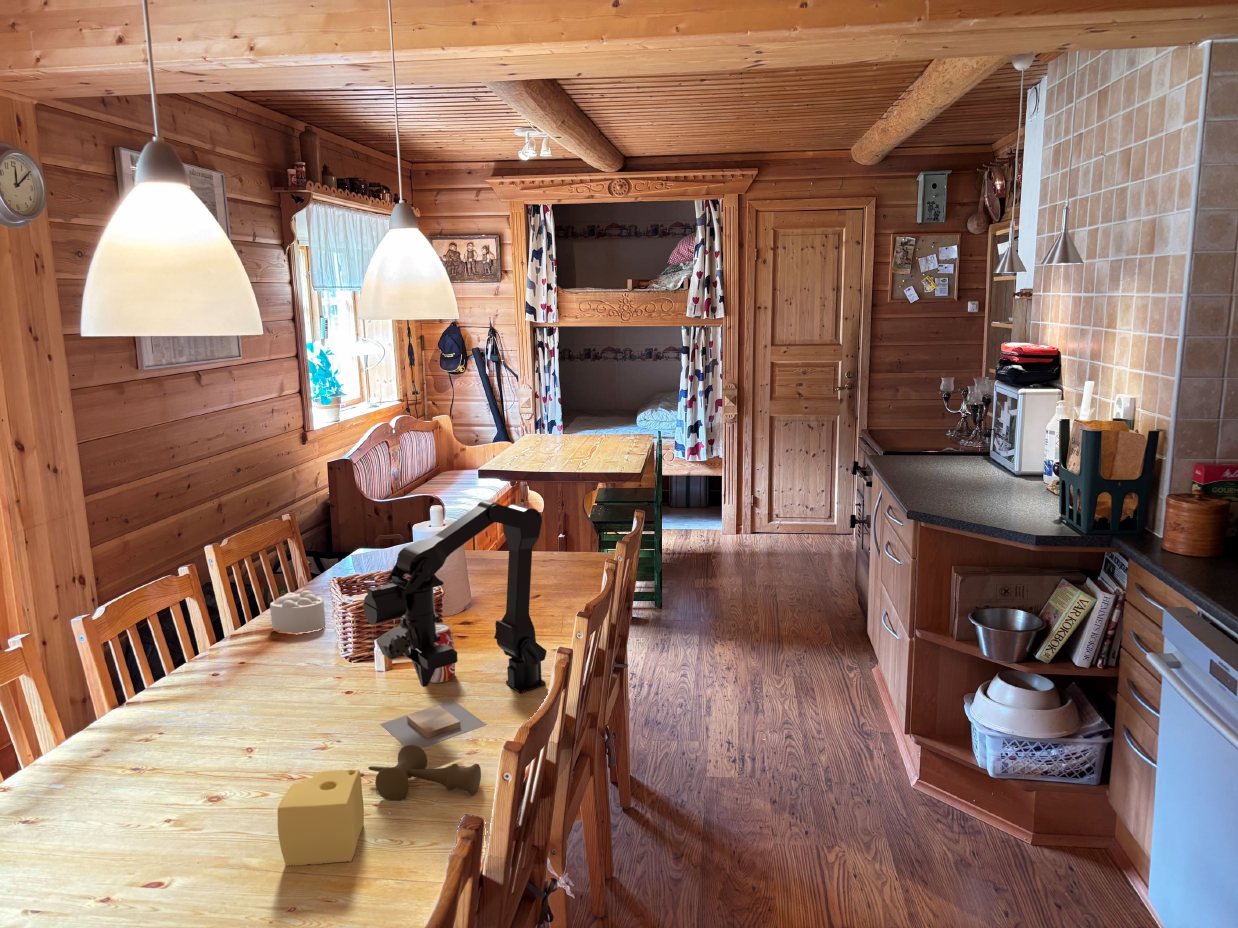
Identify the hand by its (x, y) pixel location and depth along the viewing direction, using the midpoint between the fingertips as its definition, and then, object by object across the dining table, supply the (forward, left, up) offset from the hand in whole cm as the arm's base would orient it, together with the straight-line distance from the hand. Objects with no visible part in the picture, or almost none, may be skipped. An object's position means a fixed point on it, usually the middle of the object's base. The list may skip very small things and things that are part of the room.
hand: (424, 685), depth 171 cm
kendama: (+11, +22, -8) cm, 26 cm away
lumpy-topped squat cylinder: (+2, -69, -8) cm, 69 cm away
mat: (0, +3, -8) cm, 8 cm away
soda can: (-11, -16, -8) cm, 21 cm away
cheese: (+30, +27, -8) cm, 41 cm away
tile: (0, -2, -6) cm, 7 cm away
